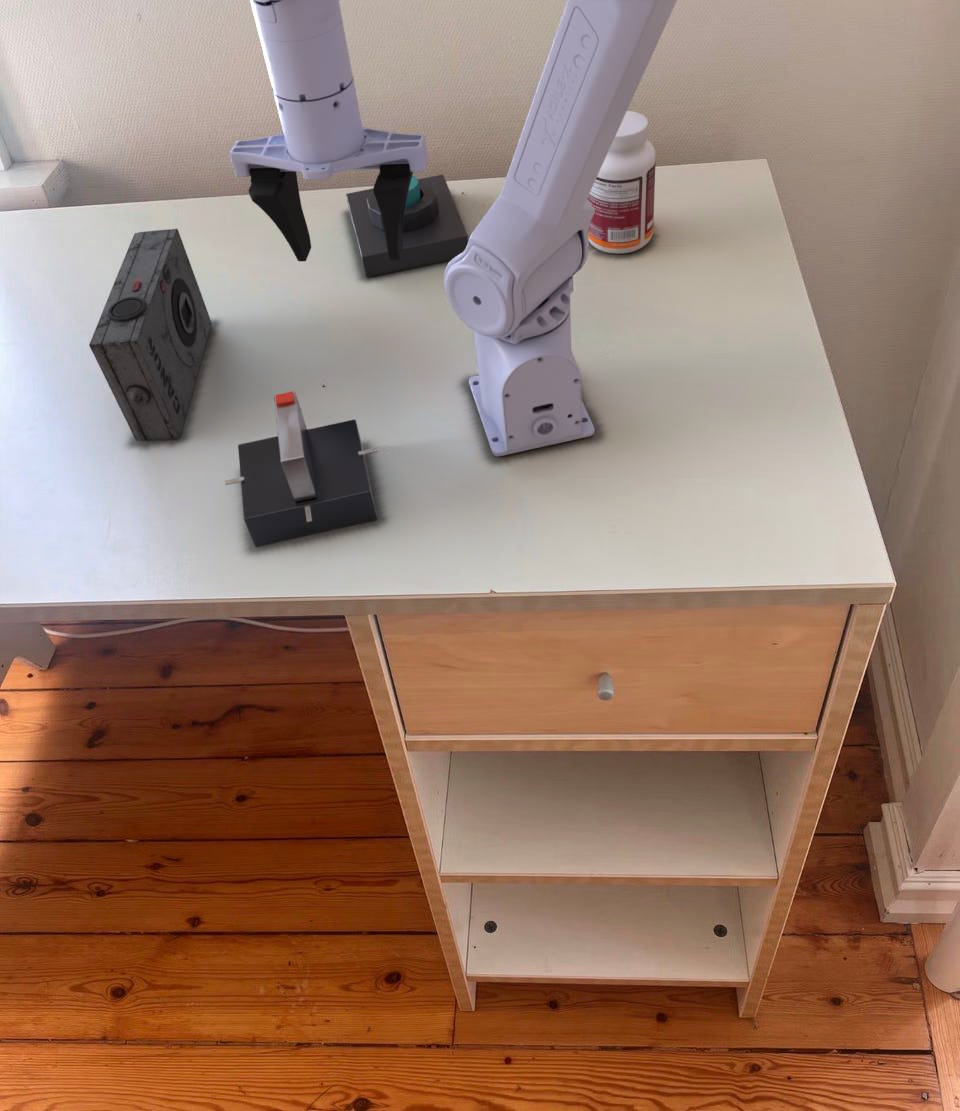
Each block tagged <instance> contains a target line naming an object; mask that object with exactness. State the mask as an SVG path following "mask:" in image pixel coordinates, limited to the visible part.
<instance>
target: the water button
mask: <svg viewBox="0 0 960 1111" xmlns="http://www.w3.org/2000/svg"><path fill="white" fill-rule="evenodd" d="M420 199H421V196H420V189H419V182H418V178H417V177H416V176H415V175H414V174H413V175H412V178H411V182H410V186H409V190H408V195H407V199H406V205H405V207H410V206H412V205H414V204H416V203H418V202H420Z"/></svg>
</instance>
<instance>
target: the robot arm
mask: <svg viewBox="0 0 960 1111" xmlns="http://www.w3.org/2000/svg"><path fill="white" fill-rule="evenodd" d="M677 2H678V0H566V3H565V7H564V10H563V12H562V14H561V18H560V21H559V23H558V27H557V29H556V32H555V35H554V38H553V41H552V44H551V47H550V49H549V53H548V56H547V58H546V61H545V64H544V67H543V70H542V73H541V75H540V79H539V81H538V85H537V87H536V90H535V93H534V96H533V99H532V103H531V105H530V107H529V110H528V113H527V116H526V119H525V122H524V125H523V128H522V131H521V133H520V135H519V139H518V141H517V145H516V148H515V151H514V153H513V156H512V160H511V163H510V165H509V168H508V171H507V173H506V177H505V179H504V183H503V185H502V188H501V191H500V194H499V195H498V197H497V198H496V199H495V201H494V202H493V204H492V205H491V207H490V208H489V209H488V211H487V212H486V213H485V214H484V215H483V217H482V219H481V220H480V221H479V222H478V224H477V225H476V227H475V228H474V230H473V231H471V234H470V236H469V237H468V244H467V246H466V249H465V250H464V251H463V252H462V253H460V254H459V255H457V256H456V257H455V258H453V259H452V260H449V262H448V264H447V265H446V267H445V270H444V273H443V286H444V291H445V295H446V297H447V300H448V303H449V304H450V307H451V309H452V311H453V312H454V314H455V315H456V316H457V317H458V319H459V320H460V321H461V322H462V323H463V324H465V325H466V326H467V327H468V329H469V328H470V329H471V330H473V339H474V346H475V355H476V364H477V372H478V374H477V375H473V376H471V377H469V378H468V385H469V387H470V391H471V393H472V396H473V399H474V402H475V405H476V408H477V411H478V414H479V418H480V420H481V423H482V427H483V429H484V432H485V435H486V438H487V442H488V444H489V447H490V450H491V453H492V455H493V456H495V457H502V456H507V455H511V454H515V453H520V452H525V451H529V450H530V451H531V450H535V449H539V448H543V447H548V446H552V445H557V444H561V443H565V442H570V441H575V440H580V439H583V438H589V437H591V436H594V434H595V426H594V424H593V422H592V420H591V417H590V415H589V413H588V411H587V409H586V406H585V404H584V401H583V400H582V399H583V398H582V374H581V370H580V367H579V365H578V362H577V360H576V358H575V355H574V353H573V350H572V322H571V321H572V319H571V295H572V293H573V292H574V276H575V275H576V274H577V273H578V272H579V271H580V270H582V269H583V267H584V266H585V264H586V262H587V261H588V257H589V251H590V244H589V243H590V242H589V240H588V229H589V225H590V222H591V219H592V217H593V215H594V213H595V210H594V208H593V207H592V205H591V204H590V203H589V201H588V200H587V198H588V195H589V193H590V191H591V189H592V187H593V184H594V182H595V180H596V178H597V176H598V173H599V171H600V169H601V167H602V165H603V162H604V160H605V158H606V156H607V154H608V151H609V149H610V147H611V145H612V143H613V140H614V138H615V136H616V134H617V131H618V129H619V127H620V125H621V123H622V120H623V118H624V116H625V114H626V112H627V111H628V109H629V107H630V105H631V102H632V101H633V98H634V96H635V94H636V91H637V90H638V87H639V85H640V83H641V81H642V78H643V76H644V74H645V72H646V69H647V67H648V66H649V64H650V61H651V58H652V56H653V54H654V52H655V51H656V48H657V45H658V43H659V41H660V39H661V36H662V34H663V32H664V30H665V28H666V26H667V24H668V21H669V19H670V17H671V15H672V12H673V10H674V8H675V6H676V3H677ZM249 3H250V5H251V10H252V14H253V17H254V22H255V25H256V30H257V33H258V36H259V40H260V45H261V48H262V53H263V58H264V61H265V64H266V68H267V73H268V76H269V80H270V86H271V89H272V92H273V96H274V101H275V105H276V108H277V114H278V116H279V120H280V124H281V129H282V132H283V133H278V134H274V135H269V136H264V137H263V136H262V137H258V138H254V139H253V138H252V139H239V140H236V141H235V143H234V144H233V146H232V148H231V150H230V151H229V157H230V161H231V164H232V167H233V171H234V175H235V177H236V178H248V177H250V186H249V187H248V194H249V197H250V199H251V201H252V202H253V203H254V204H255V205H256V206H257V207H259V208H260V209H261V210H262V211H263V212H264V213H265V214H266V215H267V216H268V217H269V218H270V219H271V221H272V222H273V224H275V226H276V228H278V230H279V231H280V233H281V234H282V235H283V237H284V239H285V240H286V243H287V244H288V245H289V247H290V249H291V251H292V252H293V254H294V256H295V258H296V260H297V261H298V262H307V259H308V257H309V255H310V252H311V249H312V243H311V236H310V231H309V229H308V228H309V227H308V224H307V221H306V218H305V214H304V210H303V206H302V201H301V196H300V189H299V183H298V176H297V173H301V174H302V177H303V179H304V180H306V181H322V180H323V181H324V180H328V179H330V178H331V177H332V176H333V174H336V173H340V172H345V171H353V170H354V171H355V170H357V171H358V170H379V173H378V175H377V176H376V179H375V182H374V184H373V187H372V189H373V191H374V195H375V197H376V200H377V203H378V205H379V209H380V212H381V215H382V219H383V223H384V227H385V233H386V241H387V249H388V254H389V257H390V260H399V258H400V255H401V252H402V248H403V219H404V211H405V205H406V199H407V195H408V190H409V186H410V182H411V178H412V175H413V176H414V173H424V172H425V171H426V168H427V164H428V160H429V154H428V148H427V142H426V135H425V134H424V133H423V134H422V133H419V134H418V133H417V134H414V133H413V134H412V133H401V132H395V131H388V130H383V129H375V128H370V127H364V126H363V121H362V116H361V111H360V106H359V100H358V94H357V90H356V84H355V80H354V75H353V70H352V64H351V59H350V52H349V49H348V42H347V37H346V31H345V27H344V26H345V25H344V21H343V15H342V11H341V10H342V9H341V5H340V0H249Z"/></svg>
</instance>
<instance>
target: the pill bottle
mask: <svg viewBox="0 0 960 1111" xmlns="http://www.w3.org/2000/svg"><path fill="white" fill-rule="evenodd" d="M648 136H649V120H648V118H647V117H646V116H645V115H644V114H642V113H639V112H637V111H633V110H627V112H626V114H625V116H624V118H623V120H622V123H621V125H620V127H619V129H618V131H617V134H616V136H615V138H614V140H613V143H612V145H611V147H610V149H609V151H608V154H607V156H606V158H605V160H604V162H603V165H602V167H601V169H600V171H599V173H598V176H597V178H596V180H595V182H594V184H593V187H592V189H591V191H590V193H589V195H588V198H587V200H588V201H589V203H590V204H591V205H592V207H593V208H594V210H595V213H594V215H593V217H592V219H591V222H590V225H589V229H588V240H589V243H590V245H591V246H592V247H594V248H595V249H596V250H599V251H601V252H603V253H604V252H605V253H609V254H629V253H632V252H636V251H638V250H640V249H642V248H643V247H645V246H646V245H647V244H648V243H649V242H650V241H651V239H652V237H653V235H654V221H655V220H654V218H655V189H656V188H655V187H656V186H655V185H656V160H657V155H656V154H657V153H656V150H655V147H654V145H653V144H652V143H651V142H650V141H649V140H648Z"/></svg>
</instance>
